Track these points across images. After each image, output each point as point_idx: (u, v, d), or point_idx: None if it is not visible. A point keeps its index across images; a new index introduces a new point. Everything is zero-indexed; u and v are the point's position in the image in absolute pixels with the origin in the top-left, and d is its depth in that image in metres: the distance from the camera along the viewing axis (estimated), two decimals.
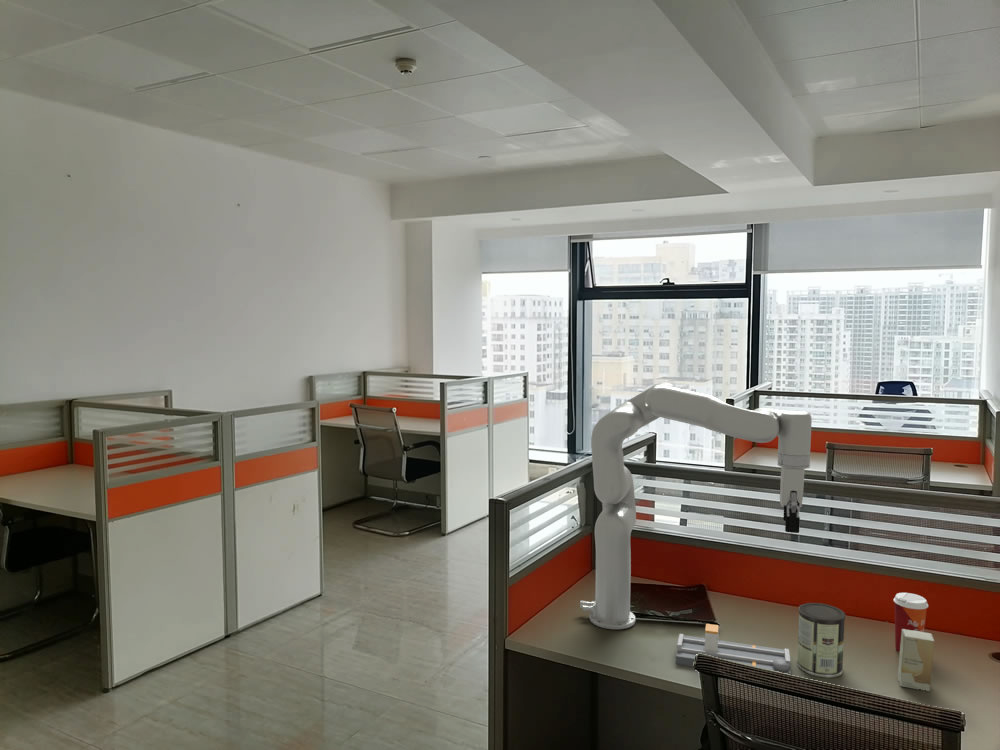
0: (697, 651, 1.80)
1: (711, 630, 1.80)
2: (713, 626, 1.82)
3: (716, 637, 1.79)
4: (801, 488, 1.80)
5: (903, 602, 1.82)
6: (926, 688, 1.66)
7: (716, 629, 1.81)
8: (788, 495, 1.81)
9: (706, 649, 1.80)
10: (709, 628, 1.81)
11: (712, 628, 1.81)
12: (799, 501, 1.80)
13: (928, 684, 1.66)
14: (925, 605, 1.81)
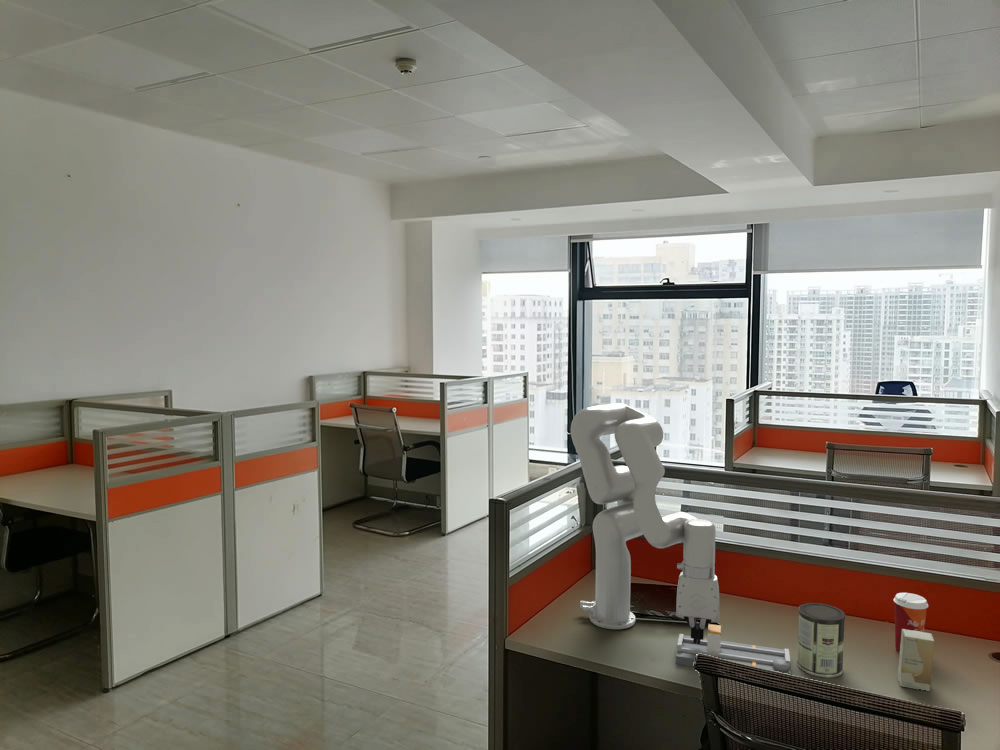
0: (697, 651, 1.80)
1: (714, 630, 1.80)
2: (716, 626, 1.82)
3: (719, 637, 1.79)
4: None
5: (903, 602, 1.82)
6: (926, 688, 1.66)
7: (719, 629, 1.80)
8: None
9: (709, 649, 1.80)
10: (712, 628, 1.81)
11: (715, 628, 1.81)
12: None
13: (928, 684, 1.66)
14: (925, 605, 1.81)
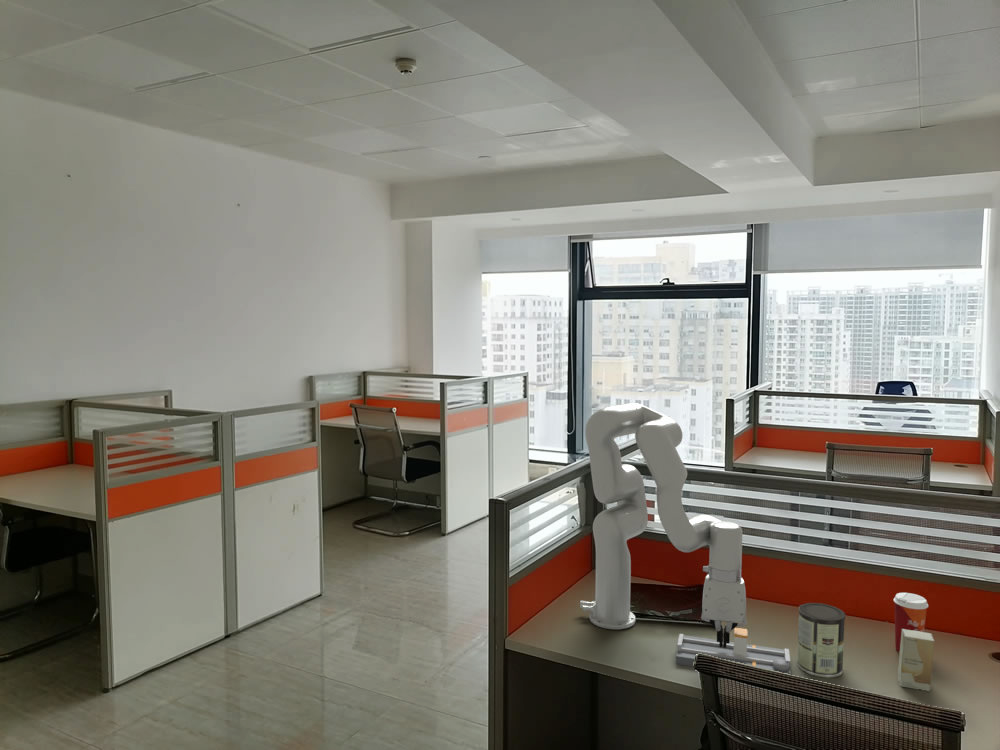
0: (697, 651, 1.80)
1: (740, 634, 1.78)
2: (742, 630, 1.80)
3: (745, 641, 1.77)
4: None
5: (903, 602, 1.82)
6: (926, 688, 1.66)
7: (745, 633, 1.78)
8: (745, 608, 1.77)
9: (735, 653, 1.78)
10: (738, 632, 1.79)
11: (741, 632, 1.79)
12: None
13: (928, 684, 1.66)
14: (925, 605, 1.81)
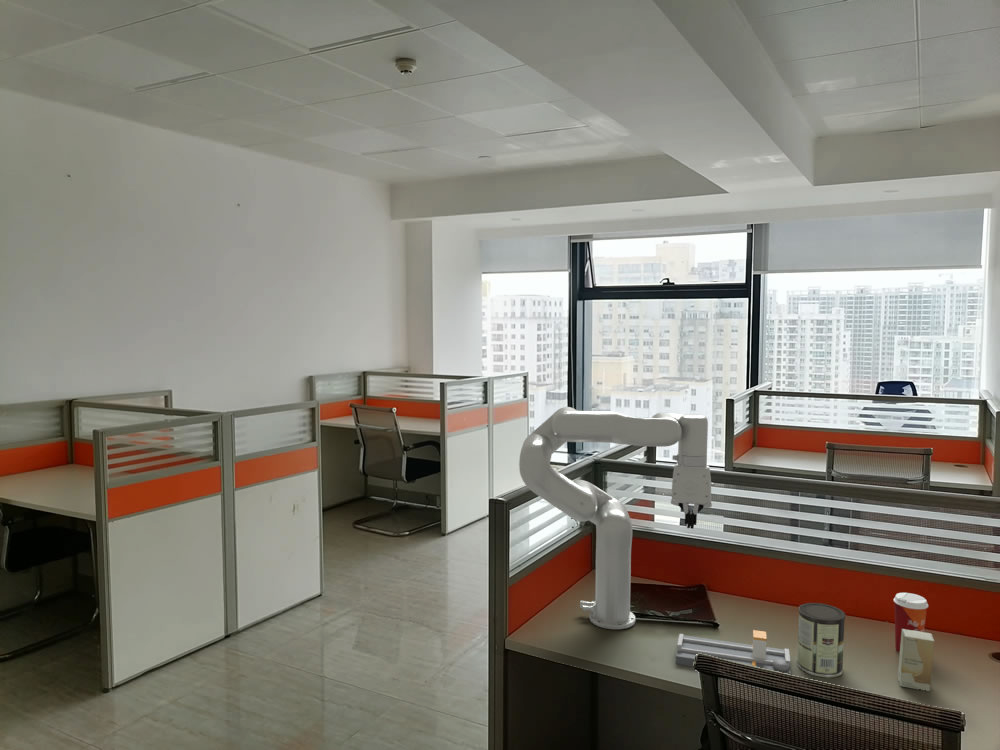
0: (697, 651, 1.80)
1: (759, 637, 1.76)
2: (761, 632, 1.79)
3: (764, 644, 1.76)
4: None
5: (903, 602, 1.82)
6: (926, 688, 1.66)
7: (764, 636, 1.77)
8: (710, 491, 1.95)
9: (754, 656, 1.77)
10: (757, 634, 1.78)
11: (760, 635, 1.78)
12: None
13: (928, 684, 1.66)
14: (925, 605, 1.81)
